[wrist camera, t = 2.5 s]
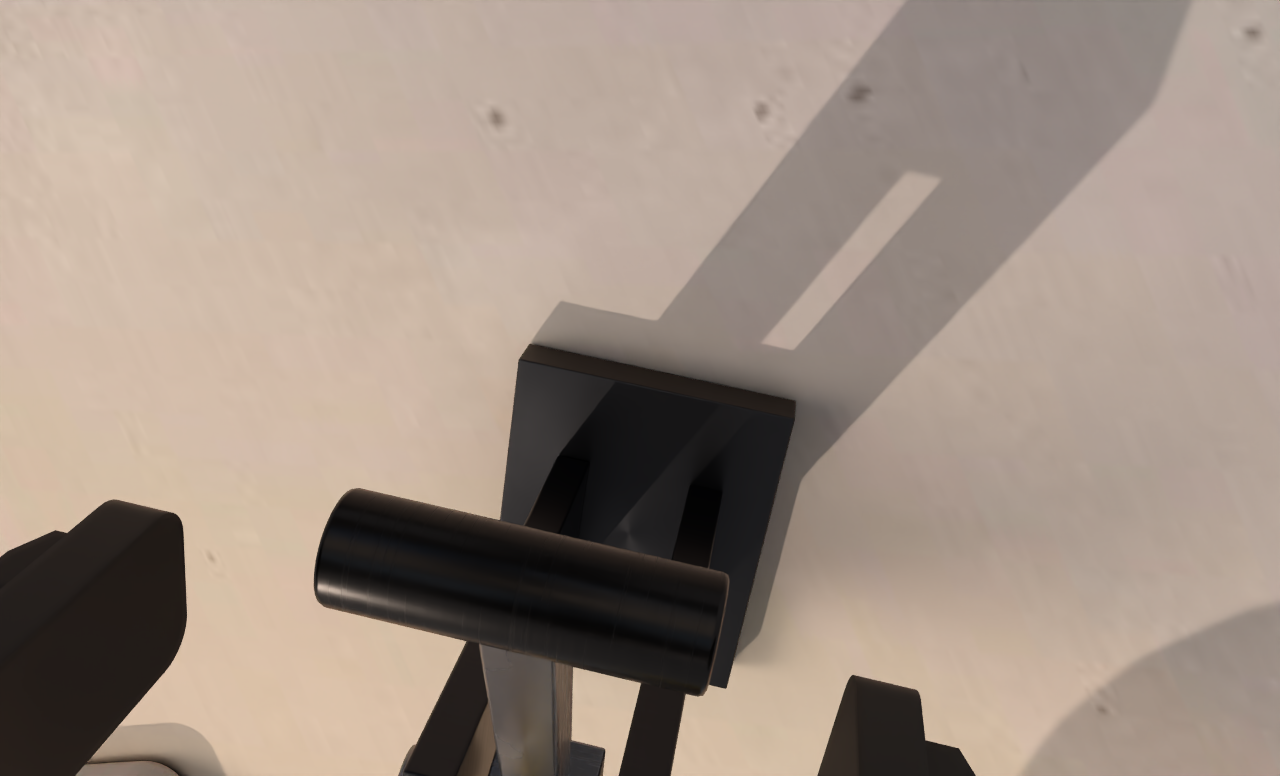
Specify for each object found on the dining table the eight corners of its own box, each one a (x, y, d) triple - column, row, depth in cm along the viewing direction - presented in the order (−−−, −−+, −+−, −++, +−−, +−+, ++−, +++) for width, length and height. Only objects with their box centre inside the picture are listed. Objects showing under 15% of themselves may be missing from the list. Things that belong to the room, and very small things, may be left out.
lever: (362, 437, 14) (286, 604, 12) (741, 522, 13) (706, 706, 12) (450, 747, 24) (415, 856, 23) (661, 800, 24) (639, 913, 23)
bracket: (529, 342, 31) (330, 638, 19) (796, 400, 30) (771, 744, 18) (497, 610, 36) (318, 990, 23) (729, 665, 35) (673, 1086, 23)
